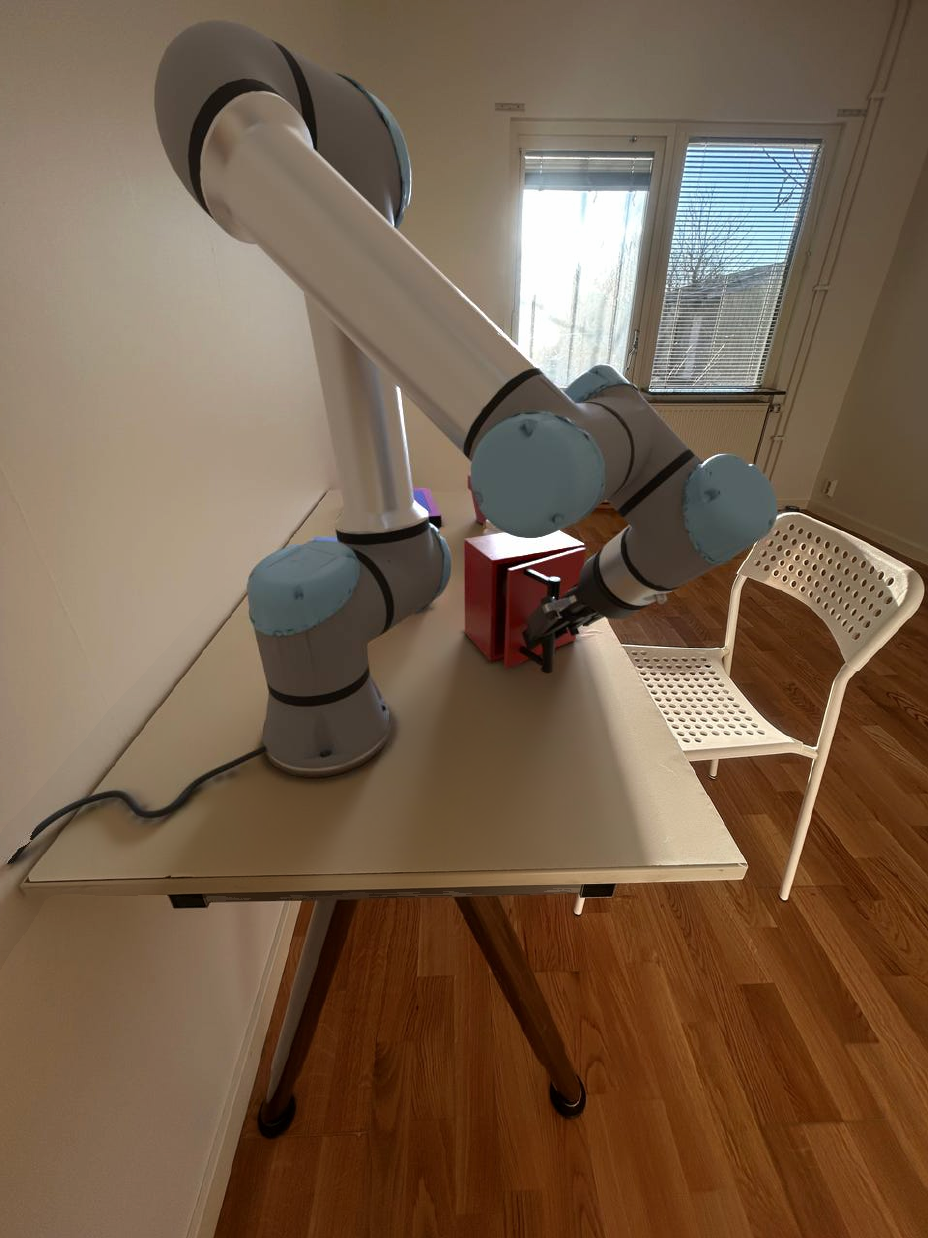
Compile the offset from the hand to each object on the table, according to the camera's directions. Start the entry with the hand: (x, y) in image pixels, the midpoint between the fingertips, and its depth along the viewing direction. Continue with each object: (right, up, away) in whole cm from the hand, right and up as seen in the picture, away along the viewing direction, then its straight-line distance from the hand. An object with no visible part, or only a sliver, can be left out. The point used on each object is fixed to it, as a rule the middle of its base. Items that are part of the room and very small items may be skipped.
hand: (534, 639), depth 74 cm
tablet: (-41, +18, +46) cm, 64 cm away
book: (-29, +33, +75) cm, 87 cm away
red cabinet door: (+4, -3, +4) cm, 6 cm away
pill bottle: (-3, +15, +40) cm, 43 cm away
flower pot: (-2, +30, +68) cm, 74 cm away
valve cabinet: (-1, 0, +11) cm, 12 cm away
